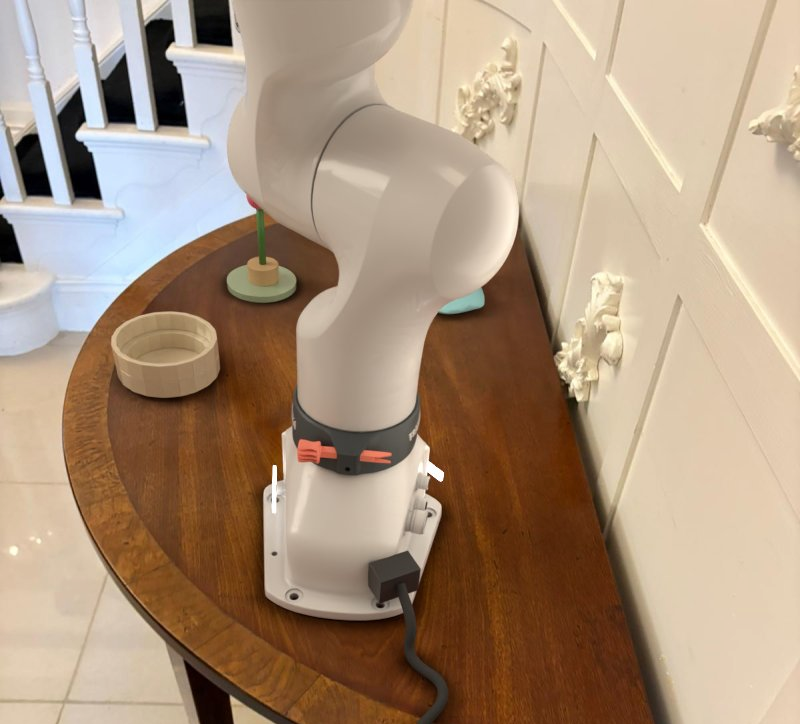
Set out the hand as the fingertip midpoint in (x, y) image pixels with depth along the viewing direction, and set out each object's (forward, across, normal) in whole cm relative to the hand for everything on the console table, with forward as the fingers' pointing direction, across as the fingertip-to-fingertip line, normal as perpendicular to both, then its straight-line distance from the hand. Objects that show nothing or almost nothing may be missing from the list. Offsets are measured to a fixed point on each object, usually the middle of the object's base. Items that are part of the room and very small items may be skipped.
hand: (249, 42), depth 93 cm
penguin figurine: (+31, +4, +26) cm, 41 cm away
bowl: (+31, +20, -15) cm, 40 cm away
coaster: (+31, 0, 0) cm, 31 cm away
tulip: (+30, 0, 0) cm, 30 cm away
